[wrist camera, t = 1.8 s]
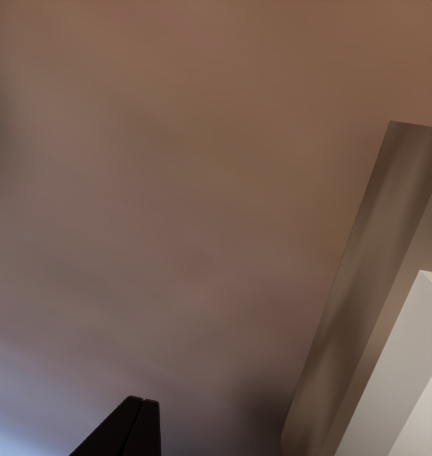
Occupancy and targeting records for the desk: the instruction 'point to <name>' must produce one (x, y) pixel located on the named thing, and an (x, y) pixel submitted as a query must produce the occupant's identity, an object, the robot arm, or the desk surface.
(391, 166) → the brown long block
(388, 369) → the white flat block
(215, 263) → the desk surface
